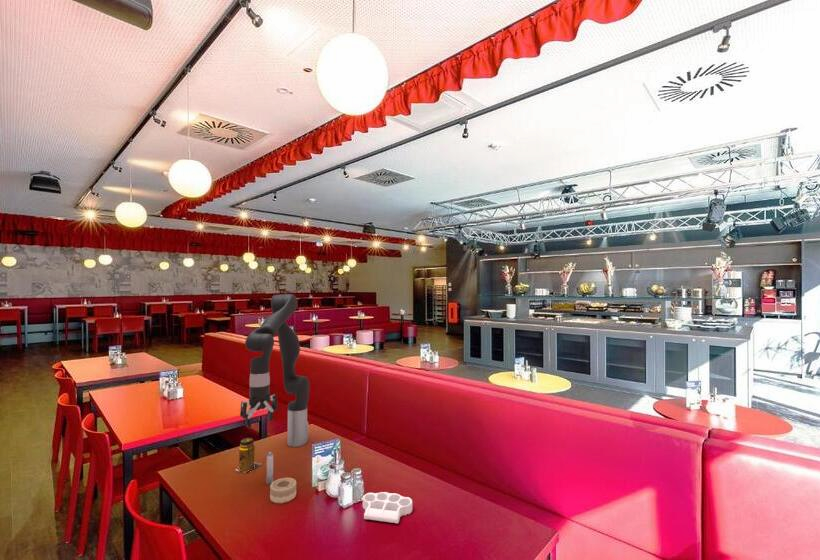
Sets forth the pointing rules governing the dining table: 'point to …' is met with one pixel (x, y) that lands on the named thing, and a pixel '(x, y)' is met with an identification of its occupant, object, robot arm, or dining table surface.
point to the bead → (283, 490)
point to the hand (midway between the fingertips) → (259, 424)
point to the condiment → (247, 455)
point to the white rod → (269, 468)
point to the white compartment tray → (386, 506)
